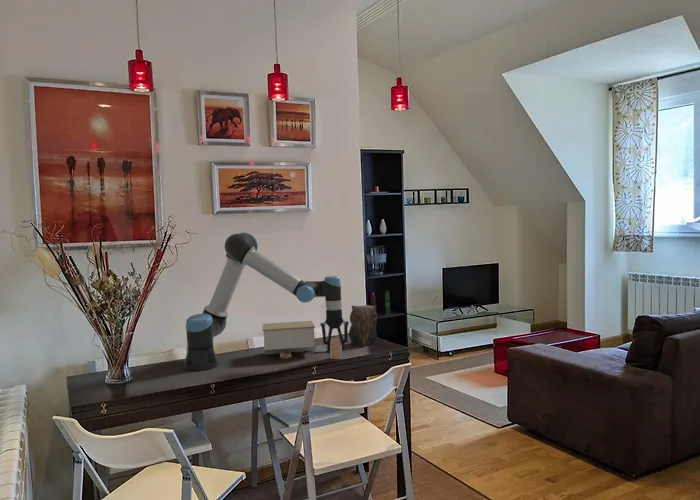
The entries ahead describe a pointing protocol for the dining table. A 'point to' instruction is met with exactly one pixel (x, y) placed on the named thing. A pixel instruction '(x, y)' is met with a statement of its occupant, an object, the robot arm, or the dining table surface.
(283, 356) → the tile
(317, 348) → the mallet
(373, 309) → the owl
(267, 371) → the dining table surface
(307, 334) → the cabinet
